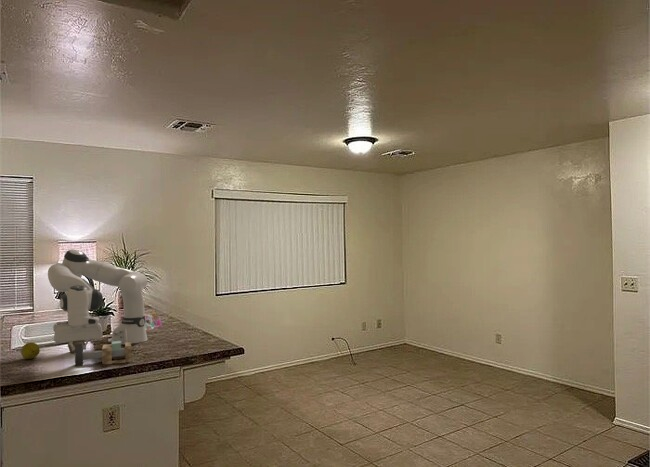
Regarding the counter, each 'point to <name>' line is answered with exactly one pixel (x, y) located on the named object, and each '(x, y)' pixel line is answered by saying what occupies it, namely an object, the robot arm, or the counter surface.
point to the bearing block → (108, 356)
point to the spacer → (116, 345)
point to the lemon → (30, 350)
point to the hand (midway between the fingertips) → (79, 349)
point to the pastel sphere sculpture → (152, 321)
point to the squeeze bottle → (74, 345)
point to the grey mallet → (91, 354)
